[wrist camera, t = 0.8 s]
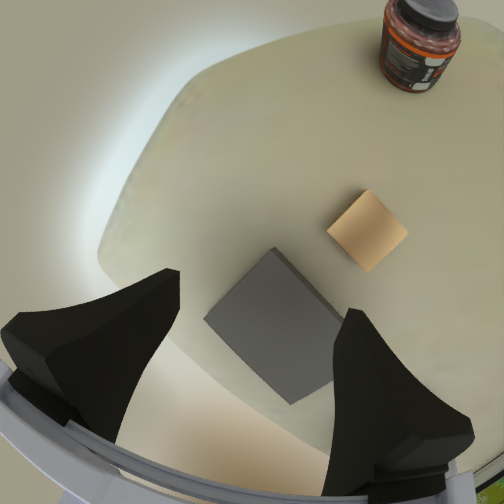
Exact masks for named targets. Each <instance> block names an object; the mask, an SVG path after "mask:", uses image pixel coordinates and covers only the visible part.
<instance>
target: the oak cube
mask: <svg viewBox="0 0 504 504" xmlns="http://www.w3.org/2000/svg"><path fill="white" fill-rule="evenodd" d="M327 232H328V233H329V234H330V235H331V236H332V237H333V238H334V239H335V240H336V241H337V242H338V243H339V244H340V245H341V246H342V247H343V249H344V250H345V251H346V252H347V253H348V254H349V255H350V256H351V257H352V258H353V259H354V260H355V261H356V263H357V264H358V265H359V266H360V267H361V268H362V269H363V270H364V271H365V273H366V274H367V273H368V272H369V271H371V270H372V269H373V268H374V267H375V266H376V265H377V264H378V263H379V262H380V261H381V260H382V259H383V258H384V257H385V256H386V255H388V254H389V253H390V252H391V251H392V250H393V249H394V248H395V247H396V246H397V245H398V244H399V243H400V242H401V241H402V240H403V239H404V238H405V237H406V236H407V235H408V234H409V233H408V232H407V230H406V229H405V228H404V227H403V226H402V225H401V223H400V222H399V221H398V220H397V219H396V218H395V217H394V215H393V214H392V213H391V212H390V211H389V210H388V209H387V208H386V207H385V206H384V204H383V203H382V202H381V201H380V200H379V199H378V198H377V197H376V196H375V195H374V194H373V193H372V192H371V191H370V190H369V189H367V190H365V191H364V192H363V193H362V194H361V195H360V197H359V198H358V199H357V200H356V201H355V202H354V203H353V204H352V205H351V206H350V207H349V208H348V209H347V210H346V211H345V212H344V213H343V214H342V215H341V216H340V217H339V218H338V219H337V220H336V221H335V222H334V223H333V224H332V225H331V226H330V227H329V229H328V230H327Z"/></svg>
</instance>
